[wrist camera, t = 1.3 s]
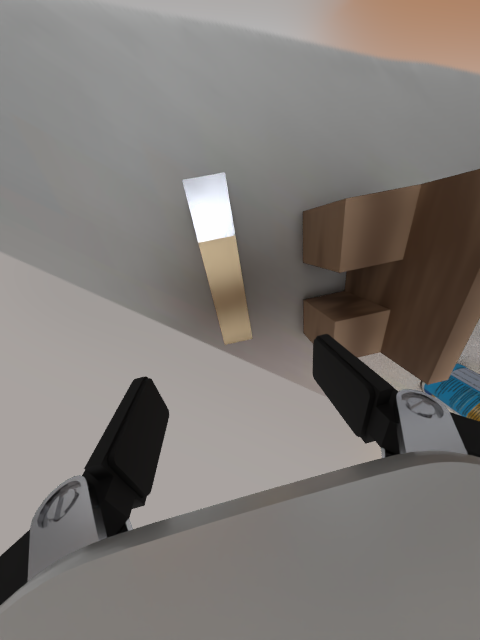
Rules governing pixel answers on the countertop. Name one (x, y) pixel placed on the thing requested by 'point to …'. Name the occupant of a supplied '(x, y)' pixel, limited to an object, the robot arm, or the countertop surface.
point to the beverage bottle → (458, 392)
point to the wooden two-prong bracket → (400, 273)
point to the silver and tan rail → (219, 253)
